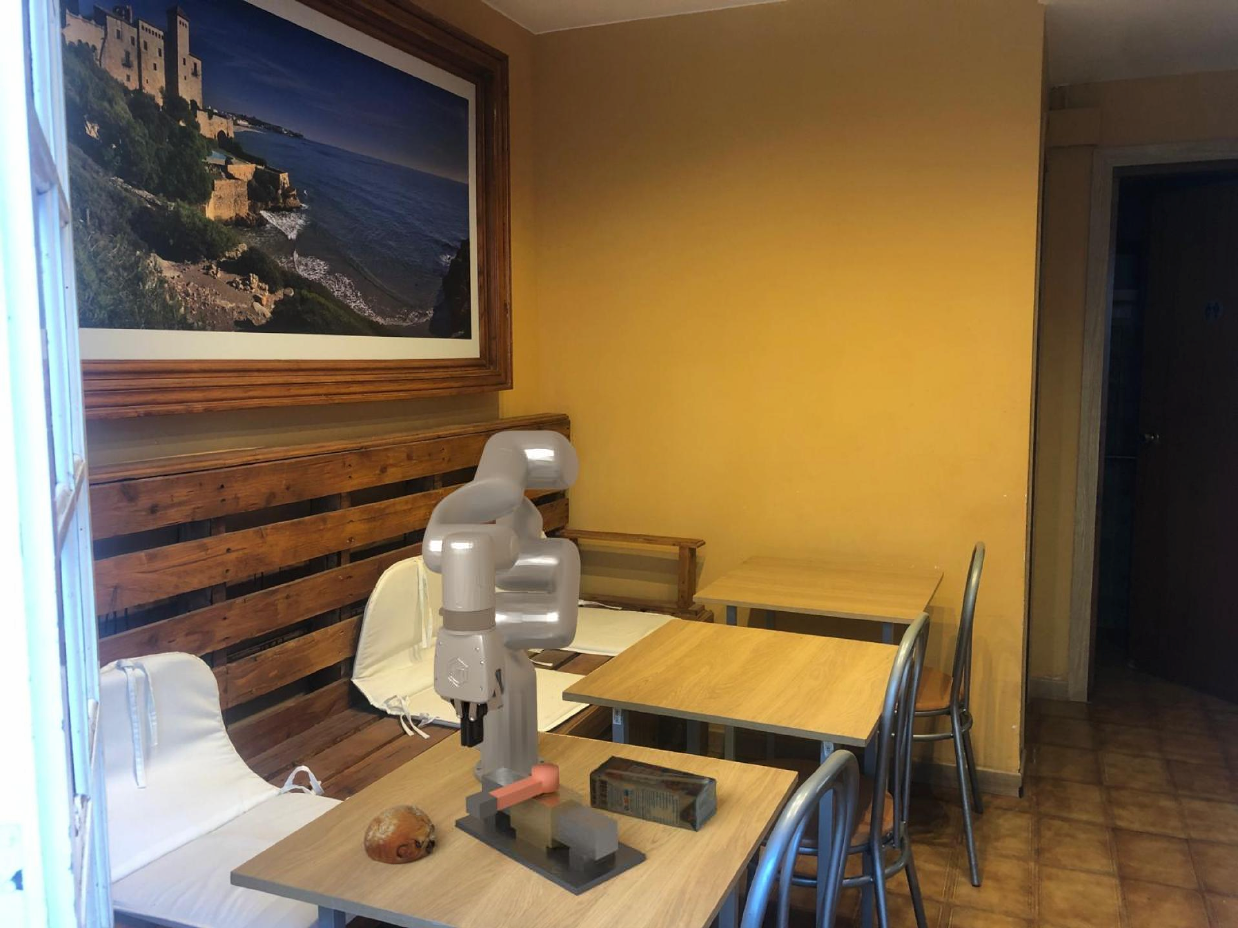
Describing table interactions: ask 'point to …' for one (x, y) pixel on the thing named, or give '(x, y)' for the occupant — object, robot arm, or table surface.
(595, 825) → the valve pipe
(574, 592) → the robot arm
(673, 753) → the table surface
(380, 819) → the bread roll
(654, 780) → the beverage carton
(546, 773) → the lever
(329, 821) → the table surface
